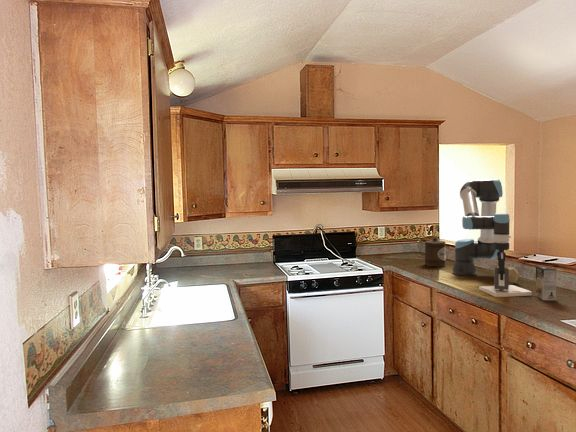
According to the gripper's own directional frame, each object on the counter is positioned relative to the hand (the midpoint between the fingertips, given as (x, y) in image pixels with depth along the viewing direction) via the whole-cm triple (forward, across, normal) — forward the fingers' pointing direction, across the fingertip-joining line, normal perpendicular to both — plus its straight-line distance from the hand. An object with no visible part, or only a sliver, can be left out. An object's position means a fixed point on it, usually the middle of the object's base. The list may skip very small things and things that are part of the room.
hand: (501, 284), depth 216 cm
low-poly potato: (+6, +29, -4) cm, 30 cm away
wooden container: (+6, +79, +41) cm, 89 cm away
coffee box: (+6, -1, -20) cm, 21 cm away
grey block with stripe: (+2, 0, 0) cm, 2 cm away
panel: (+5, +5, -2) cm, 7 cm away
